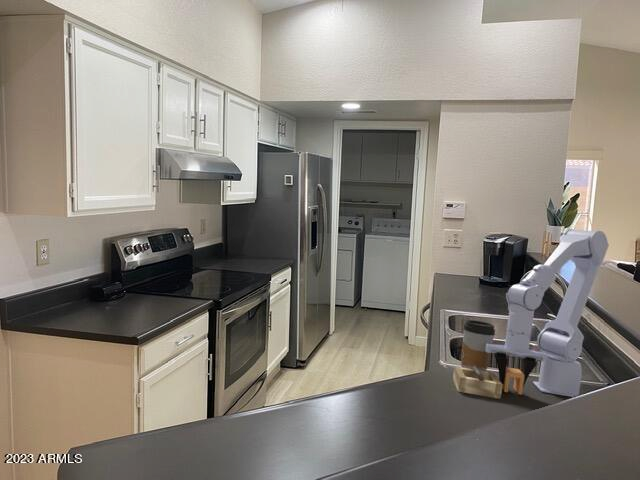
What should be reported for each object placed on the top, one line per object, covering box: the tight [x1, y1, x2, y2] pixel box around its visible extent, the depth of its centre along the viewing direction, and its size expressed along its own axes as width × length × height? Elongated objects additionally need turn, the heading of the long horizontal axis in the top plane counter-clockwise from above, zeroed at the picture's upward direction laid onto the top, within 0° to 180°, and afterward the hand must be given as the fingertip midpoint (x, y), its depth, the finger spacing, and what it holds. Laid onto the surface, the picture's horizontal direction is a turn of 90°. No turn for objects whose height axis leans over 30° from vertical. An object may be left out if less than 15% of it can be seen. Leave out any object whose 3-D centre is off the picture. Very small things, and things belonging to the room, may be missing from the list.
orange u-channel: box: [502, 366, 525, 396], centre depth 121 cm, size 4×5×5 cm
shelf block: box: [452, 365, 503, 399], centre depth 119 cm, size 10×10×5 cm
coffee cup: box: [460, 319, 496, 372], centre depth 129 cm, size 8×8×15 cm
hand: (511, 384), depth 121 cm, fingers closed on orange u-channel, 4 cm apart
